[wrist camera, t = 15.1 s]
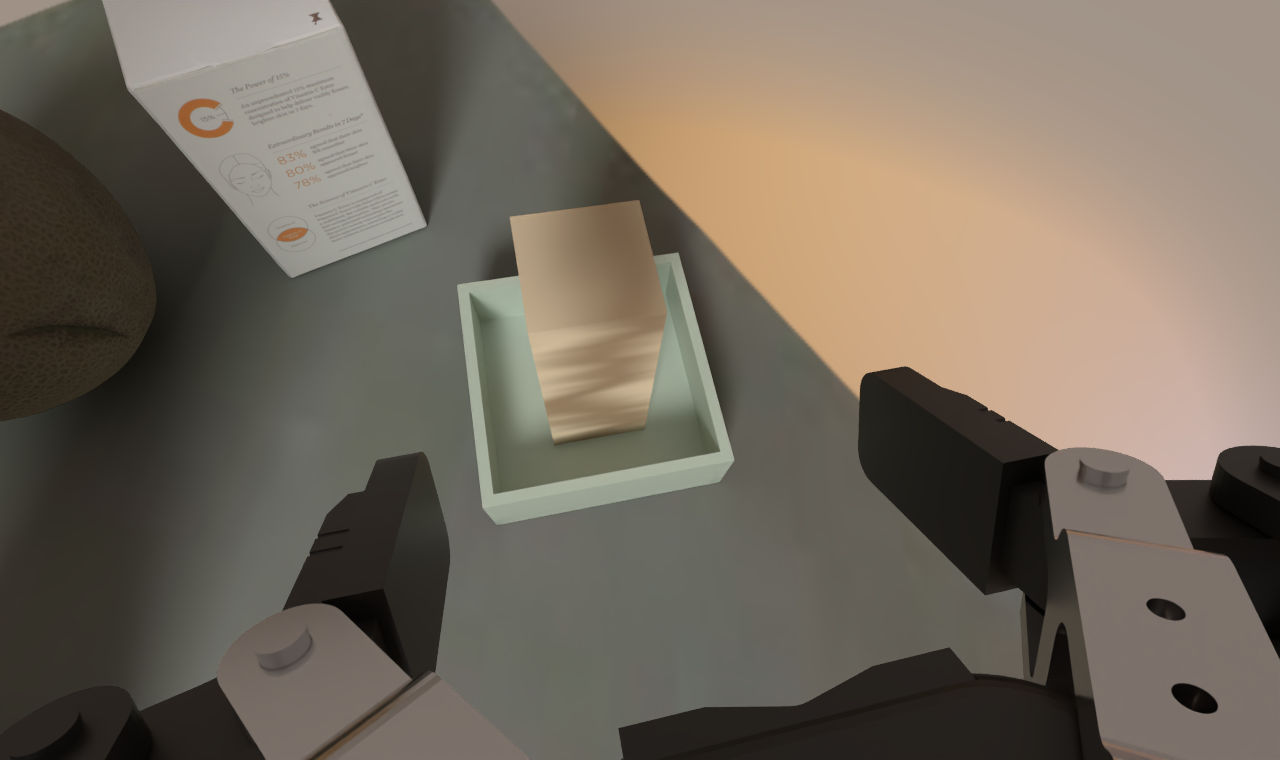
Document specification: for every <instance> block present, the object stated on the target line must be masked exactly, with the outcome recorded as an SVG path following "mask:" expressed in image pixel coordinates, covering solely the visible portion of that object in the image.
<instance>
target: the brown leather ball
mask: <svg viewBox="0 0 1280 760" xmlns="http://www.w3.org/2000/svg"><path fill="white" fill-rule="evenodd" d="M156 301H157V295H156V286H155V280H154V275H153V272H152V267H151V264H150V262H149V259H148V257H147V254H146V251H145V249H144V246H143V244H142V242H141V240H140V238H139V236H138V234H137V232H136V230H135V229H134V227H133V225H132V223H131V221H130V220H129V218H128V217H127V215H126V214H125V212H124V211H123V209H122V208H121V206H120V205H119V204H118V202H117V201H116V200H115V199H114V197H113V196H112V195H111V194H110V192H109V191H108V190H107V189H106V188H105V187H104V186H103V185H102V184H101V183H100V182H99V181H98V179H97V178H96V177H95V176H94V175H93V174H92V173H91V172H90V171H89V170H87V169H86V168H85V167H84V166H83V165H82V164H81V163H80V162H78V161H77V160H76V159H75V158H74V157H73V156H72V155H70V154H69V153H68V152H67V151H65V150H64V149H63V148H62V147H60V146H59V145H58V144H57V143H55V142H54V141H53V140H51V139H50V138H48V137H47V136H45V135H44V134H43V133H41V132H40V131H38V130H37V129H35V128H33V127H32V126H30V125H28V124H27V123H25V122H23V121H21V120H19V119H18V118H16V117H14V116H12V115H10V114H8V113H6V112H4V111H2V110H0V421H5V420H10V419H16V418H22V417H26V416H30V415H34V414H37V413H41V412H44V411H46V410H49V409H51V408H54V407H56V406H59V405H62V404H64V403H67V402H69V401H71V400H73V399H75V398H77V397H79V396H82V395H84V394H86V393H88V392H89V391H91V390H93V389H94V388H96V387H97V386H99V385H100V384H102V383H103V382H105V381H106V380H107V379H109V378H110V377H111V376H113V375H114V374H115V373H117V372H118V371H119V370H120V369H121V368H122V367H123V366H124V365H125V364H126V363H127V362H128V361H129V359H130V358H131V357H132V356H133V355H134V353H135V351H136V350H137V348H138V347H139V345H140V343H141V342H142V340H143V338H144V336H145V334H146V332H147V330H148V328H149V326H150V324H151V322H152V319H153V317H154V314H155V309H156Z"/></svg>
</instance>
